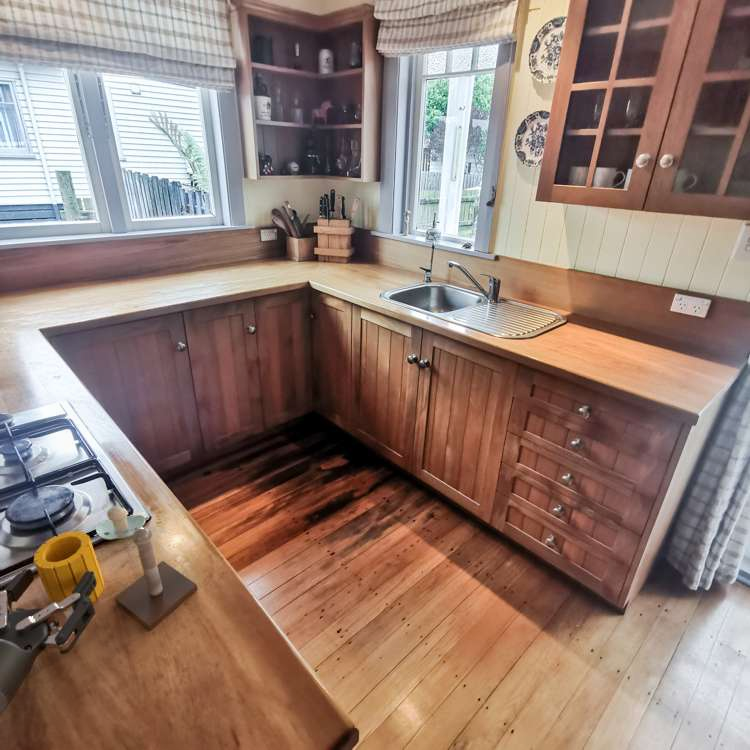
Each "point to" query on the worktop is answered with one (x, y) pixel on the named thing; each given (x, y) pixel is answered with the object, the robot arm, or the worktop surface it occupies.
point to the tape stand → (154, 586)
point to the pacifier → (119, 524)
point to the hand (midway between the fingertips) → (60, 573)
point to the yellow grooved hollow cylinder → (67, 565)
